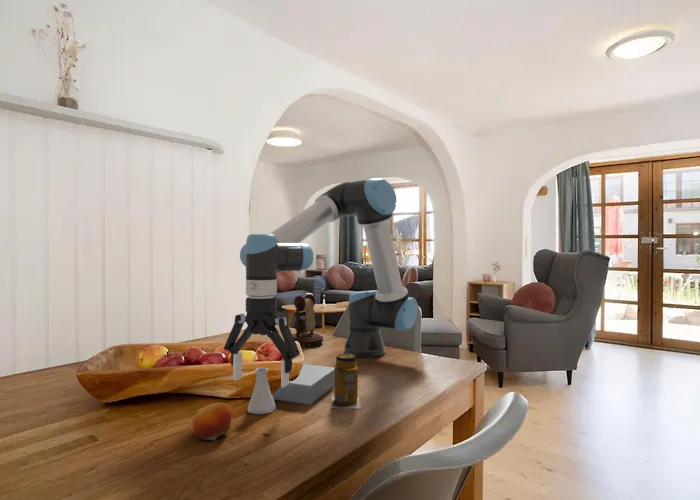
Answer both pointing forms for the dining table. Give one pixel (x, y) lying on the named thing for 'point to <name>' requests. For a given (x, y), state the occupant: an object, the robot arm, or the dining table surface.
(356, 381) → the condiment
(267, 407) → the flask
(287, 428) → the dining table surface
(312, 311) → the brown sculpture on stand
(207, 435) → the fruit
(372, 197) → the robot arm
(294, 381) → the slate box
